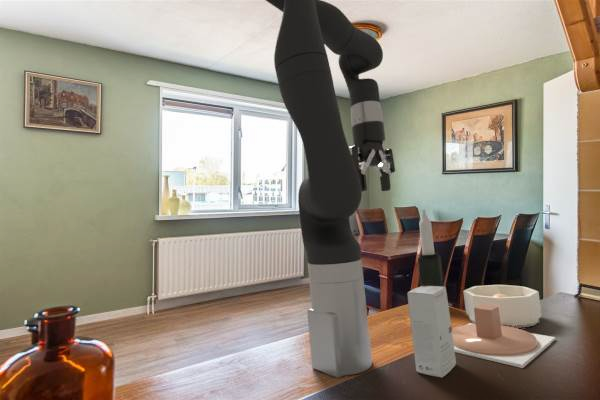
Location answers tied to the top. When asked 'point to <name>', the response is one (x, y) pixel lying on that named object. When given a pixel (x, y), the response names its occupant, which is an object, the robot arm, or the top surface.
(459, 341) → the lid
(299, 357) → the top surface
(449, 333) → the skincare box
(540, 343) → the mat
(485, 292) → the bowl
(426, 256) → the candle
